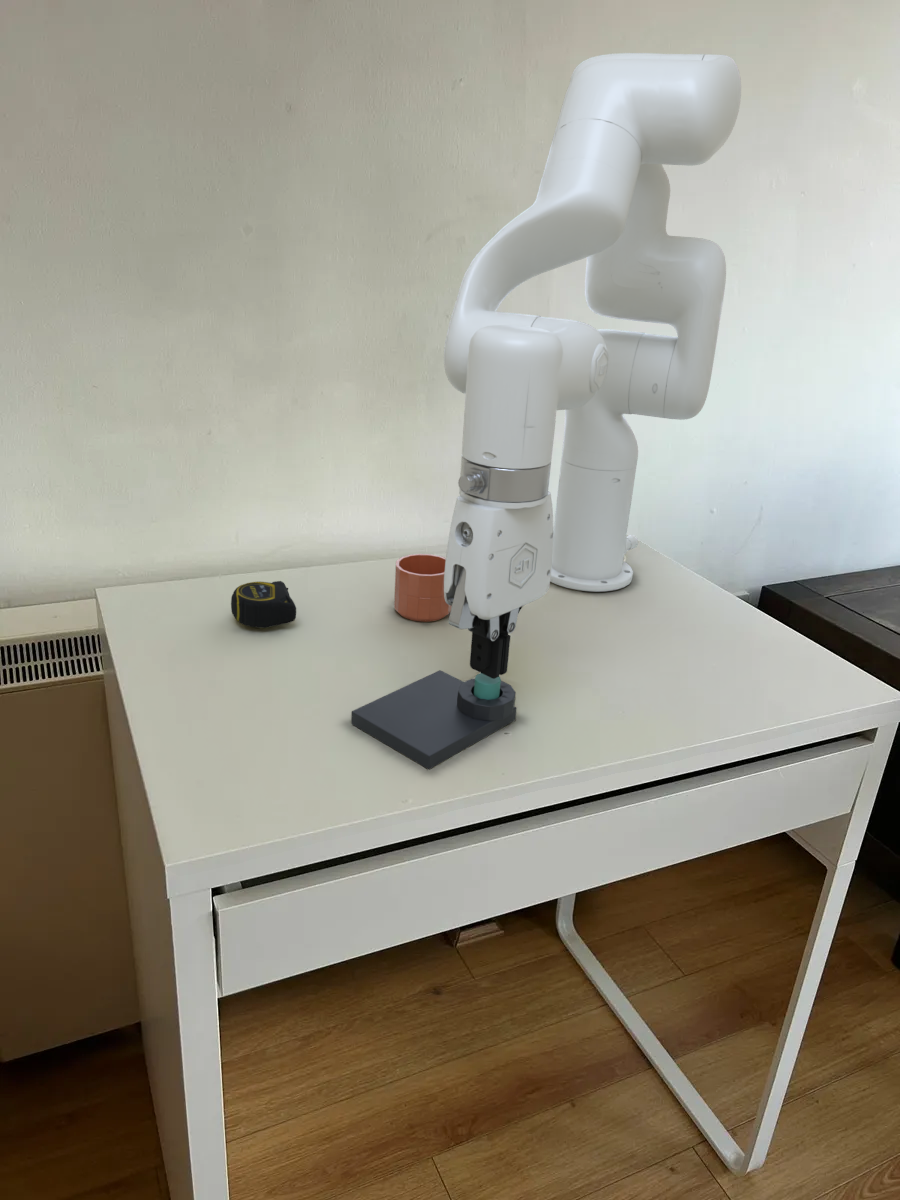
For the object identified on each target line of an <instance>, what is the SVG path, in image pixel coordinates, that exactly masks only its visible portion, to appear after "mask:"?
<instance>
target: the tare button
mask: <svg viewBox="0 0 900 1200" xmlns="http://www.w3.org/2000/svg"><path fill="white" fill-rule="evenodd" d="M474 678H475V686H474V695H475V696H476V697H478V698H480V699H486V700H491V699H497V698H498V697H499V694H500V683H501V681H502V679H501V677H500V676H499V677H497V678H495V679H493V678H491V677H489V676H486V675H484V674H482V673H480V672H478V673H477V674H476V675H475V676H474Z"/></svg>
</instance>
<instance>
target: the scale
mask: <svg viewBox="0 0 900 1200" xmlns="http://www.w3.org/2000/svg"><path fill="white" fill-rule="evenodd" d="M474 686H475V677H474V678H469V679H468V680H466V681H463V680H461V679H459V678H457V677H455V676H453V675H451V674H449V673H447V672H445V671H443V670H440V669H439V670H437V671H435V672H433V673H430V674H428V675H426V676H424V677H422V678H420V679H418V680H416V681H414V682H413V681H412V682H411V683H409V684H407V685H405V686H403V687H401V688H399V689H396V690H394V691H392V692H390V693H388V694H386V695H384V696H382V697H379V698H377V699H375V700H373V701H371V702H368V703H366V704H365V705H362V706H360V707H358V708H356V709H354V710H352V711H351V715H350V716H351V717H350V718H351V721H350V723H351V725H352V726H354V727H355V728H358V729H359V730H361V731H363V732H364V733H365V734H368V735H369V736H371V737H373V738H374V739H376V740H377V741H380V742H381V743H383V744H384V745H386V746H388V747H390V748H392V749H393V750H395V751H396V752H398V753H400V754H401V755H403V756H405V757H406V758H408V759H410V760H412V761H413V762H415V763H417V764H418V765H420V766H421V767H424V768H425V769H427V770H431V769H432V768H434V767H436V766H438V765H439V764H441V763H443V762H444V761H446V760H448V759H450V758H452V757H454V756H455V755H457V754H459V753H460V752H462V751H464V750H466V749H467V748H469V747H471V746H472V745H475V744H476V743H478V742H480V741H481V740H483V739H485V738H487V737H488V736H490V735H492V734H494V733H495V732H497V731H499V730H501V729H502V728H504V727H506V726H507V725H509V724H511V723H513V722H514V721H516V720H517V719H516V717H517V707H516V705H515V704H516V694H517V693H516V691H515V689H514V688H513V686H512V685H511V684H509V683H508V682H505V681H503V680H501V683H500V694H499V697H498V698H497V699H491V700H486V699H480V698H478V697H476V696H475V695H474Z"/></svg>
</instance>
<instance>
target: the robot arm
mask: <svg viewBox="0 0 900 1200" xmlns="http://www.w3.org/2000/svg"><path fill="white" fill-rule="evenodd" d="M741 99H742V79H741V73H740V70H739V66H738V65H737V63H736V61H735V60H734V59H733V57H731V56H729V55H726V54H714V53H713V54H712V53H710V54H709V53H657V52H656V53H654V52H620V53H619V52H618V53H617V52H616V53H607V54H599V55H596V56H595V55H594V56H591V57H588V58H587V59H584V60H583V61H581V62H580V63H579V64H578V65H576V66H575V68H574V70H573V71H572V73H571V75H570V79H569V84H568V87H567V89H566V92H565V94H564V98H563V101H562V105H561V108H560V112H559V114H558V118H557V122H556V126H555V129H554V133H553V137H552V139H551V145H550V147H549V151H548V155H547V159H546V162H545V165H544V168H543V169H544V170H543V173H542V176H541V179H540V183H539V187H538V190H537V194H536V197H535V199H534V202H533V203H532V205H530V206H529V207H528V208H527V209H525V210H523V211H522V212H520V213H519V214H518V215H517V216H516V217H514V218H512V219H511V220H510V221H508V222H507V223H506V224H505V225H504V226H503V227H502V228H501V229H500V230H498V232H496V234H495V235H493V236H492V237H491V238H490V239H489V241H487V243H485V245H484V246H482V247H481V249H480V250H479V251H478V253H476V255H475V256H474V258H473V259H472V260H471V262H470V264H469V265H468V267H467V268H466V271H465V273H464V275H463V277H462V280H461V283H460V286H459V288H458V293H457V296H456V300H455V301H454V302H455V303H454V306H453V309H452V313H451V315H450V319H449V323H448V327H447V332H446V336H445V341H444V347H443V349H444V350H443V367H444V372H445V376H446V378H447V380H448V382H449V383H450V385H451V386H452V387H453V388H454V389H455V390H457V391H458V392H460V393H462V394H464V395H465V397H464V411H463V412H464V414H463V430H462V444H461V457H460V458H461V459H460V460H461V461H460V472H459V473H460V475H459V478H458V482H457V484H458V487H459V490H458V494H459V495H458V496H457V498H456V501H455V504H454V509H453V513H452V519H451V522H450V527H449V533H448V540H447V544H446V545H447V546H446V554H445V558H446V561H445V573H444V597H445V601H446V603H447V604H448V605H451V606H452V608H451V612H450V613H449V615H448V616H449V617H448V624H449V625H450V626H452V627H455V628H456V629H459V630H468V631H469V632H471V643H470V657H469V666H470V668H471V669H472V670H474V671H476V672H478V673H482V674H484V675H486V676H489V677H491V678H493V679H495V678H497V677H500V676H502V675H505V674H506V673H508V666H509V656H510V645H511V634H513V633H514V631H515V629H516V626H517V622H518V617H519V613H520V612H521V610H522V608H523V607H524V606H526V605H528V604H530V603H533V602H535V601H537V600H539V599H540V598H542V597H544V596H545V595H546V594H547V593H548V591H549V589H550V584H551V583H552V584H555V585H557V586H559V587H562V588H566V589H571V590H575V591H583V592H593V593H595V592H597V593H598V592H603V593H604V592H612V591H617V590H620V589H623V588H625V587H627V586H629V585H630V584H631V583H632V581H633V576H634V569H633V568H632V566H631V565H630V564H629V563H627V562H626V561H624V559H625V554H627V553H628V551H630V550H633V549H635V548H637V547H638V545H639V539H638V537H637V536H636V535H634V534H629V535H628V528H629V521H630V514H631V508H632V507H631V506H632V500H633V492H634V485H635V479H636V472H637V465H638V459H639V446H638V441H637V437H636V436H635V433H634V431H633V429H632V427H631V426H630V424H629V422H628V420H627V419H626V417H625V415H637V416H645V417H651V418H652V417H653V418H660V419H667V420H677V421H678V420H680V421H682V420H683V421H684V420H685V421H686V420H689V419H692V418H694V417H696V416H697V415H699V413H700V412H701V411H702V410H703V407H704V406H705V404H706V401H707V399H708V394H709V390H710V384H711V379H712V375H713V367H714V361H715V356H716V348H717V343H718V336H719V331H720V324H721V323H720V322H721V317H722V312H723V304H724V298H725V292H726V291H725V290H726V283H727V262H726V256H725V253H724V251H723V249H722V248H721V246H720V245H719V244H717V243H716V242H715V241H713V240H710V239H706V238H702V237H695V236H694V237H692V236H682V235H681V236H680V235H669V234H668V232H667V219H668V213H669V203H670V197H671V184H670V180H669V177H668V174H667V172H666V170H665V168H664V166H663V165H668V166H669V165H670V166H688V167H689V166H691V167H692V166H699V165H703V164H706V163H707V162H708V161H709V160H710V159H711V158H712V157H713V156H714V155H715V154H716V153H717V152H718V151H719V150H720V149H721V148H722V147H724V145H725V144H726V142H727V141H728V139H729V138H730V135H731V134H732V132H733V130H734V127H735V124H736V122H737V119H738V115H739V112H740V106H741ZM583 259H586V265H585V275H584V298H585V301H586V302H585V303H586V306H587V307H588V308H589V310H590V311H591V312H593V313H594V314H596V315H598V316H600V317H605V318H610V319H618V320H622V321H623V320H624V321H633V322H642V323H653V324H661V325H662V324H663V325H669V326H672V327H673V328H674V329H675V330H674V331H676V335H677V336H673V335H664V334H654V333H646V332H640V331H630V330H622V329H621V330H619V329H612V328H611V329H609V328H601V329H598V328H596V327H594V326H592V325H591V324H589V323H586V322H583V321H579V320H574V319H568V318H559V317H558V318H557V317H547V316H541V315H534V314H526V313H525V314H524V313H515V312H508V311H507V312H505V311H498V309H499V308H500V306H501V304H502V302H503V301H504V300H505V299H506V297H508V295H509V294H511V293H512V291H514V290H515V289H516V288H518V287H519V286H520V285H522V284H523V283H525V282H527V281H529V280H531V279H532V278H535V277H537V276H539V275H541V274H544V273H547V272H550V271H552V270H555V269H557V268H558V269H559V268H560V267H564V266H567V265H570V264H573V263H575V262H577V261H580V260H583ZM557 411H564V427H563V428H564V429H563V439H562V440H563V441H562V449H561V450H562V451H561V458H560V459H561V460H560V468H559V478H558V487H557V496H556V503H555V504H556V505H555V513H554V510H553V509H554V508H553V500H552V493H551V492H550V491H549V485H550V476H551V467H552V458H553V449H554V439H555V429H556V422H557V421H556V418H557Z"/></svg>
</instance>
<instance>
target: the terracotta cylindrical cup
mask: <svg viewBox="0 0 900 1200" xmlns="http://www.w3.org/2000/svg"><path fill="white" fill-rule="evenodd" d="M445 561H446V557H444V556H442V555H437V554H431V553H414V554H407V555H403V556H401V557H399V558H398V559H397V560H396V561H395V572H394V573H395V575H394V577H395V578H394V602H393V603H394V604H393V608H394V610H395V611H396V612H397V613H398V614H399V615H400V616H401V617H403V618H404V619H407V620H410V621H414V622H421V623H422V622H423V623H425V622H426V623H428V622H429V623H430V622H436V621H440V620H442V619H444V618H445V617H446V616H449V615H450V612H451V608H452V606H451V605H448V604H447V603H446V601H445V597H444V573H445Z"/></svg>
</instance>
